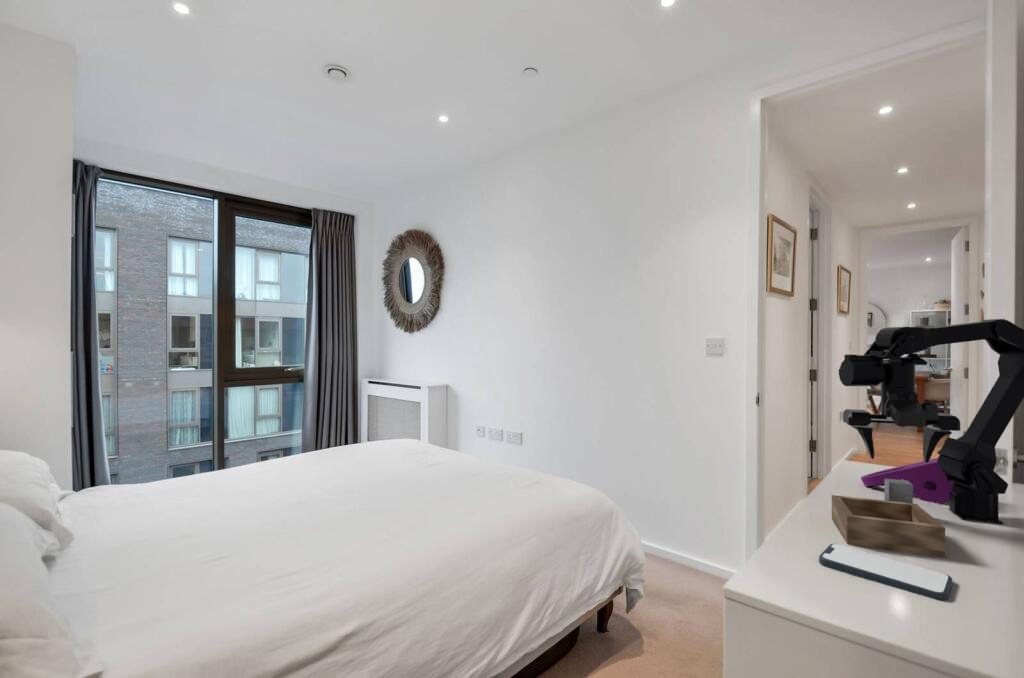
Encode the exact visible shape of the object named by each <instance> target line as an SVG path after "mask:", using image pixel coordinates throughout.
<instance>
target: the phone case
mask: <svg viewBox="0 0 1024 678" xmlns="http://www.w3.org/2000/svg"><path fill="white" fill-rule="evenodd" d="M818 559H819V560H818V562H819V564H820V565H821V566H823V567H824V568H828V569H832V570H835V571H839V572H841V573H845V574H849V575H852V576H855V577H858V578H862V579H865V580H868V581H872V582H876V583H879V584H882V585H885V586H888V587H891V588H896V589H899V590H901V591H906V592H909V593H912V594H917V595H920V596H923V597H926V598H929V599H933V600H936V601H941V602H942V601H945V602H946V601H948V599H949V596H950V593H951V590H952V588H953V577H951V576H950V575H949V574H946V573H944V572H941V571H937V570H933V569H929V568H925V567H922V566H918V565H915V564H911V563H907V562H904V561H901V560H897V559H893V558H890V557H886V556H883V555H879V554H875V553H872V552H868V551H865V550H861V549H857V548H854V547H850V546H847V545H843V544H839V543H830V544H829V545H828V546H827V547H826V548H825V550H824V551H822V553H820V555H819V556H818Z"/></svg>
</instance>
